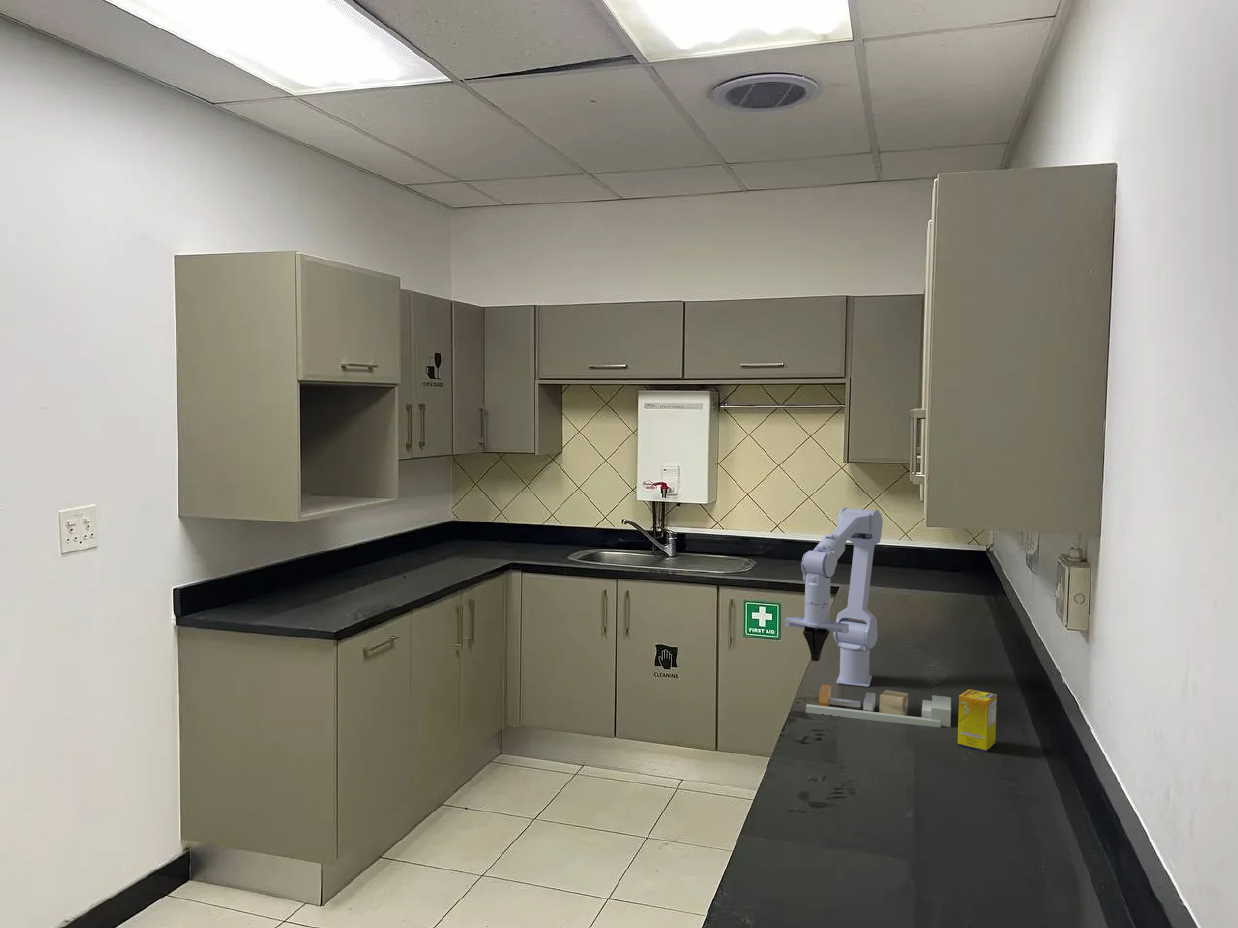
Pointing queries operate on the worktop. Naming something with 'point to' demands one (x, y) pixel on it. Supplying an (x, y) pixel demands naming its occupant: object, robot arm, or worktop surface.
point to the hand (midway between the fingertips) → (815, 660)
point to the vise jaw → (827, 700)
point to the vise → (932, 715)
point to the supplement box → (977, 720)
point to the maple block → (893, 703)
